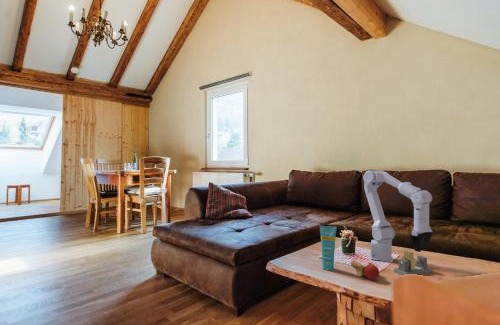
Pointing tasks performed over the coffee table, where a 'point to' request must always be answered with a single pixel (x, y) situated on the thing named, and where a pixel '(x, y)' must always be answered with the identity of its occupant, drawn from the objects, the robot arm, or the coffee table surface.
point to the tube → (328, 246)
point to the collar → (409, 259)
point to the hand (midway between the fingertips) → (421, 249)
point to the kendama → (366, 270)
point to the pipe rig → (419, 268)
